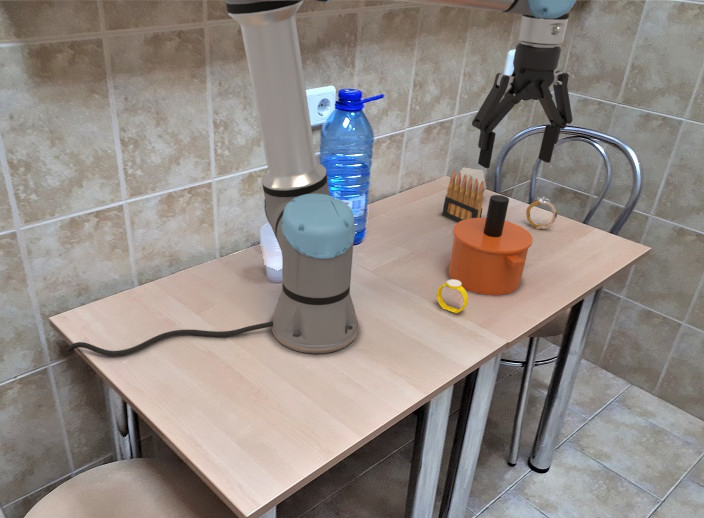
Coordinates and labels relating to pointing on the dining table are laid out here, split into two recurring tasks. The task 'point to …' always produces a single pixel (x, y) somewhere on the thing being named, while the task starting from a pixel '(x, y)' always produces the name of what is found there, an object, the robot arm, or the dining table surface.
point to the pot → (486, 269)
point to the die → (473, 176)
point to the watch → (452, 285)
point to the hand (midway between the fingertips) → (514, 163)
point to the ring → (538, 202)
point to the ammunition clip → (463, 199)
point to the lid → (493, 230)
